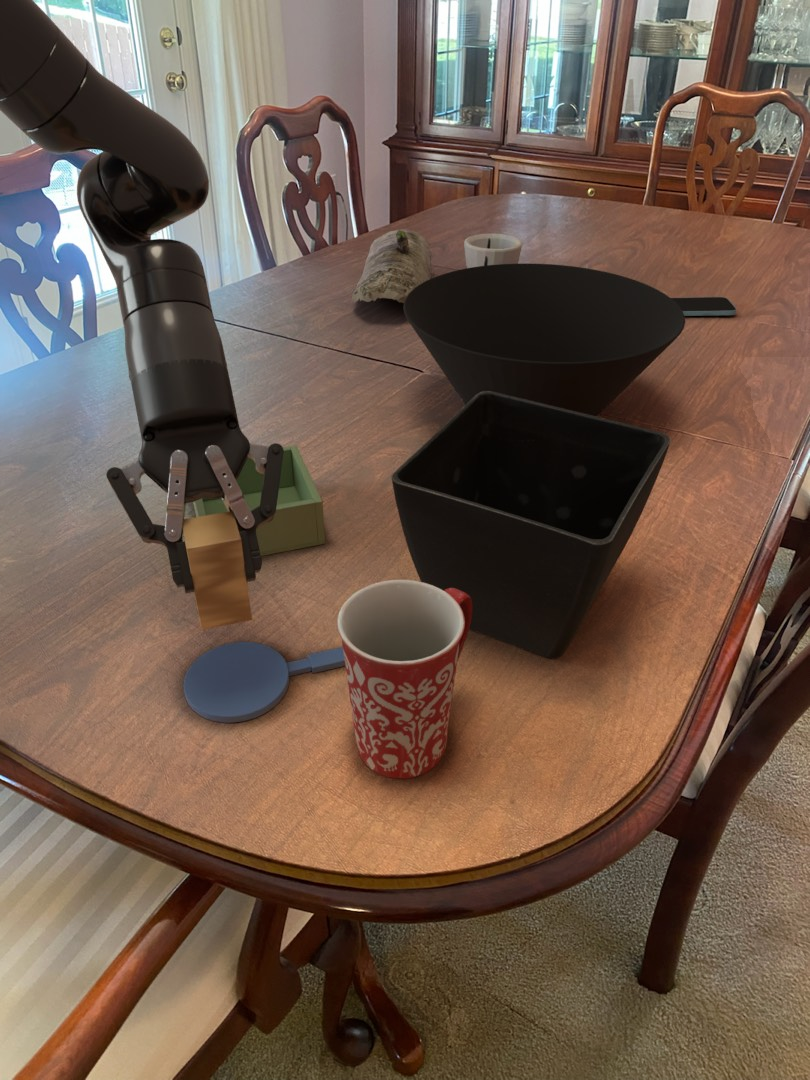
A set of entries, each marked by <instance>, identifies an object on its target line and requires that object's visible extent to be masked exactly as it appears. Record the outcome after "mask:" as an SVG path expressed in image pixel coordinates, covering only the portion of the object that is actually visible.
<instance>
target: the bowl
mask: <svg viewBox="0 0 810 1080" xmlns="http://www.w3.org/2000/svg"><path fill="white" fill-rule="evenodd" d="M671 298H672V297H670V296H669V295H668V294H666V293H665V292H662V291H660V290H659V289H657V288H655V287H653V286H651V285H648V284H647V283H644V282H641V281H639V280H636V279H632V278H631V277H628V276H623V275H620V274H615V273H612V272H606V271H603V270H597V269H592V268H587V267H581V266H573V265H572V266H571V265H565V264H552V263H551V264H550V263H549V264H548V263H526V262H525V263H524V262H523V263H518V264H498V265H487V266H479V267H472V268H467V267H466V268H462V269H458V270H453V271H450V272H449V271H448V272H446V273H442V274H440V275H437V276H434V277H432V278H430V279H429V280H427V281H425V282H423V283H421V284H420V285H418V286H417V287H415V288H414V289H413V290H412V291H411V292H410V293H409V294H408V296H407V297H406V299H405V301H404V303H403V313H404V316H405V318H406V321H408V323H409V325H410V326H411V327H412V328H413V330H414V331H415V334H416V335H417V336H418V338H419V339H420V340H421V342H422V343H423V345H424V347H425V348H426V349H427V351H428V352H429V353H430V355H431V357H432V359H434V361H435V362H436V364H437V365H438V367H439V368H440V369H441V371H442V372H443V374H444V375H445V377H446V378H447V380H448V382H449V383H450V384H451V386H452V387H453V388H454V389H455V392H456V393H457V394H458V396H459V397H460V399H461V400H462V402H463V403H464V404H465V405H466V404H467V403H468V402H469V401H470V400H471V399H472V398H474V397H475V396H476V395H477V394H478V393H480V392H484V391H491V392H496V393H500V394H505V395H509V396H513V397H517V398H521V399H526V400H530V401H534V402H538V403H543V404H547V405H551V406H555V407H559V408H563V409H567V410H572V411H576V412H580V413H584V414H588V415H592V416H597V417H599V415H600V414H602V412H603V411H605V409H607V407H608V406H609V405H610V404H611V403H612V402H613V401H615V399H616V398H618V396H620V394H622V393H623V391H625V390H626V389H627V388H628V387H629V386H630V385H631V384H632V383H633V382H634V381H635V380H636V378H638V377H639V376H640V375H641V374H643V372H644V371H645V370H646V369H647V368H648V367H649V366H651V364H652V363H653V362H654V361H655V360H656V359H657V358H659V356H661V354H662V353H664V352H665V350H667V348H669V347H670V345H672V344H673V343H674V342H675V341H676V340H677V339H678V338H679V336H680V335H681V334H682V332H683V330H684V329H685V325H686V316H684V314H683V311H682V310H681V308H680V307H679V306H678V304H677V303H676V302H675V301H673V300H672V299H671Z"/></svg>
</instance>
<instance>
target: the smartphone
mask: <svg viewBox="0 0 810 1080" xmlns="http://www.w3.org/2000/svg"><path fill="white" fill-rule="evenodd" d="M670 298H671V299H672V300H673V301H675V302H676V303H677V304H678V306H679V307H680V308H681V310H682V311H683V314H684V316H685V317H693V316H694V317H695V316H699V317H700V316H703V317H704V316H705V317H707V316H715V317H720V316H727V317H728V316H735V315H736V314H737V310H738V309H737V307H736V306H735V304H733V303H732V301H731V300H730V299H729V298H727V297H725V296H695V297H694V296H692V297H690V296H689V297H688V296H686V297H685V296H684V297H670Z"/></svg>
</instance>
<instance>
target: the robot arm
mask: <svg viewBox="0 0 810 1080" xmlns="http://www.w3.org/2000/svg"><path fill="white" fill-rule="evenodd" d="M42 9H43V8H41V7H40V6H39V5H38V4H37V3H36V2H35V1H34V0H0V112H1V113H2V114H3V115H5V117H6V118H7V119H8V120H9V121H11V122H12V123H13V124H14V125H15V126H16V127H17V128H18V129H19V130H20V131H22V132H23V134H24V135H26V136H27V137H28V138H29V139H30V140H31V141H32V142H33V143H35V144H36V145H37V146H38V147H40V148H41V149H43V150H44V151H45V152H47V153H50V154H52V155H66V154H72V153H77V152H81V151H88V150H95V151H96V150H97V151H100V153H98V154H96V155H94V156H93V157H92V158H90V159H88V161H86V162H85V163H84V165H83V166H82V168H81V169H80V172H79V174H78V178H77V182H76V183H77V184H76V197H77V198H76V199H77V203H78V206H79V209H80V212H81V214H82V216H83V218H84V220H85V222H86V224H87V226H88V228H89V229H90V231H91V234H92V236H93V237H94V239H95V241H96V243H97V245H98V247H99V250H100V251H101V253H102V256H103V258H104V260H105V262H106V264H107V266H108V268H109V270H110V272H111V275H112V277H113V279H114V282H115V285H116V291H117V297H118V303H119V308H120V314H121V319H122V324H123V331H124V346H125V347H124V348H125V351H124V352H125V357H126V365H127V370H128V378H129V380H130V384H131V389H132V396H133V401H134V406H135V411H136V412H135V413H136V415H137V416H136V418H137V422H138V429H139V433H140V439H141V448H140V451H139V453H138V459H137V460H136V461H134V462H131V463H129V464H127V465H126V466H123V467H121V468H120V467H118V466H117V467H116V466H112V467H111V468H108V470H107V472H106V474H105V475H106V479H107V481H108V483H109V485H110V487H111V489H112V491H113V493H114V494H115V496H116V497H117V499H118V501H119V503H120V505H121V506H122V508H123V510H124V512H125V513H126V515H127V516H128V518H129V520H130V522H131V523H132V526H133V527H134V528H135V531H136V532H137V534H138V536H139V537H140V539H141V541H143V543H145V544H157V545H161V546H163V547H164V548H166V550H167V554H168V560H169V566H170V570H171V571H170V572H171V577H172V580H173V583H174V585H175V586H176V587H177V588H183V587H184V593H185V594H186V595H187V594H192V593H194V591H195V590H194V584H193V579H192V574H191V571H190V566H189V561H188V555H187V550H186V545H185V540H184V539H183V538H184V535H183V530H182V523H183V519H185V516H186V506H187V504H189V503H193V502H195V501H197V500H199V499H201V498H213V499H214V498H220V497H221V498H222V500H223V502H224V504H225V506H226V508H227V510H228V511H229V512H230V511H232V512H233V514H234V516H235V520H236V523H237V527H238V530H239V533H240V537H241V541H242V549H243V556H244V567H245V574H246V581H247V583H250V582H255V581H256V579H257V577H256V573H260V572H261V569H262V565H263V560H262V556H261V555H260V550H259V545H258V540H257V535H256V530H257V528H258V527H260V526H261V525H263V524H265V523H269V522H271V521H272V520H273V518H274V514H275V512H276V506H277V499H278V491H279V483H280V476H281V468H282V460H283V453H284V450H283V447H284V446H283V445H281V444H280V443H276V442H275V443H274V442H273V443H271V444H270V445H262V444H255V443H250V441H249V439H248V437H247V436H246V435H245V434H244V433H243V431H242V429H241V427H240V423H239V418H238V413H237V408H236V404H235V398H234V393H233V389H232V384H231V379H230V374H229V369H228V364H227V360H226V355H225V354H226V353H225V350H224V345H223V341H222V337H221V334H220V332H219V329H218V326H217V324H216V321H215V320H216V319H215V316H214V312H213V308H212V302H211V298H210V293H209V289H208V282H207V277H206V274H205V273H206V272H205V269H204V265H203V262H202V260H201V257H200V255H199V254H198V253H197V251H196V250H195V249H194V248H193V247H192V246H190V245H189V244H187V243H185V242H183V241H180V240H176V239H171V238H155V239H152V235H154V234H156V233H158V232H160V231H162V230H163V229H166V228H168V227H170V226H171V225H174V224H175V223H177V222H180V221H181V220H183V219H185V218H187V217H189V216H192V215H193V214H194V213H196V212H197V211H199V209H201V208H202V207H203V206H204V204H205V203H206V201H207V199H208V196H209V191H210V179H209V174H208V170H207V167H206V164H205V162H204V159H203V157H202V156H201V153H199V150H198V149H197V148H196V146H195V145H194V144H193V143H192V141H191V140H190V139H189V138H188V137H187V135H186V134H184V133H183V132H182V131H181V130H180V129H179V128H178V127H177V126H175V125H174V124H173V123H172V122H170V121H169V120H168V119H166V118H164V117H163V116H162V115H160V114H159V113H157V112H156V111H155V110H153V109H152V108H150V107H148V105H146V104H145V103H143V102H142V101H139V99H137V98H135V97H134V96H133V95H131V94H130V93H129V92H128V91H126V90H125V89H122V87H120V86H119V85H117V84H116V83H115V82H113V81H112V80H110V79H108V78H107V77H105V76H104V75H103V74H102V73H100V72H99V71H98V70H97V69H96V67H94V65H93V64H92V63H91V62H90V61H89V60H88V59H87V58H86V57H85V55H84V54H83V53H82V52H81V51H80V50H79V49H78V47H76V45H75V44H74V43H73V42H72V41H71V40H70V39H69V38H68V37H67V36H66V34H65V33H64V32H63V31H62V30H61V29H60V28H59V27H58V25H56V23H55V22H54V21H53V20H52V19H51V17H49V15H47V13H46V11H44V10H42ZM101 151H102V152H101ZM247 458H251V459H252V460H253V461H254V462H255V468H256V470H257V472H259V473H261V474H264V478H263V486H262V493H261V500H260V506H259V507H257V508H255V509H253V510H251V511H250V509H249V507H248V505H247V503H246V501H245V499H244V496H243V493H242V491H241V489H240V487H239V485H238V483H237V481H236V480H237V478H238V476H239V474H240V472H241V470H242V468H243V466H244V464H245V462H246V460H247ZM143 475H146V476H147V477H148V478H149V479H151V481H153V482H154V483H155V485H157V486H158V487H159V488H160V489H161V490H163V491H164V492H165V494H167V498H166V513H165V524H164V525H162V524H156V523H153V521H152V519H151V517H150V516H149V514H148V513H147V511H146V509H145V507H144V505H143V504H142V502H141V501H140V498H139V497H138V494H139V493H141V491H142V487H143V486H142V482H141V478H142V477H143Z"/></svg>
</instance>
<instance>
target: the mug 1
mask: <svg viewBox="0 0 810 1080" xmlns="http://www.w3.org/2000/svg"><path fill="white" fill-rule="evenodd" d="M471 618H472V600H471V598H470V596H469V595H468V594H466V593H465V592H463V591H461V590H458V589H455V588H448V589H445V590H444V591H443V590H441V589H439V588H437V587H435V586H433V585H430V584H427V583H423V582H421V581H419V580H413V579H389V580H383V581H378V582H375V583H371V584H369V585H367V586H364V587H362V588H361V589H359V590H356V592H354V593H353V594H352V595H350V596H349V597H348V598H347V599H346V600H345V602H344V603H343V604H342V606H341V607H340V610H339V611H338V615H337V617H336V627H337V632H338V635H339V637H340V639H341V645H342V647H343V652H344V660H345V666H344V667H345V673H346V679H347V685H348V693H349V695H348V696H349V702H350V708H351V714H352V715H351V716H352V722H353V728H354V737H355V743H356V748H357V751H358V754H359V757H360V758H361V760H362V761H363V762H364V764H365V765H366V766H367V767H368V768H369V769H370V770H372V771H373V772H375V773H377V774H378V775H381V776H384V777H386V778H387V777H388V778H391V779H392V778H393V779H411V778H415V777H418V776H421V775H424V774H426V773H427V772H429V771H430V770H432V769H433V768H434V767H435V766H437V764H439V762H440V761H441V759H442V757H443V755H444V753H445V751H446V747H447V743H448V742H447V741H448V734H449V725H450V717H451V710H452V703H453V694H454V687H455V679H456V675H457V666H458V661H459V659H460V656H461V653H462V651H463V648H464V646H465V644H466V641H467V637H468V633H469V630H470V629H469V627H470V623H471Z"/></svg>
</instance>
